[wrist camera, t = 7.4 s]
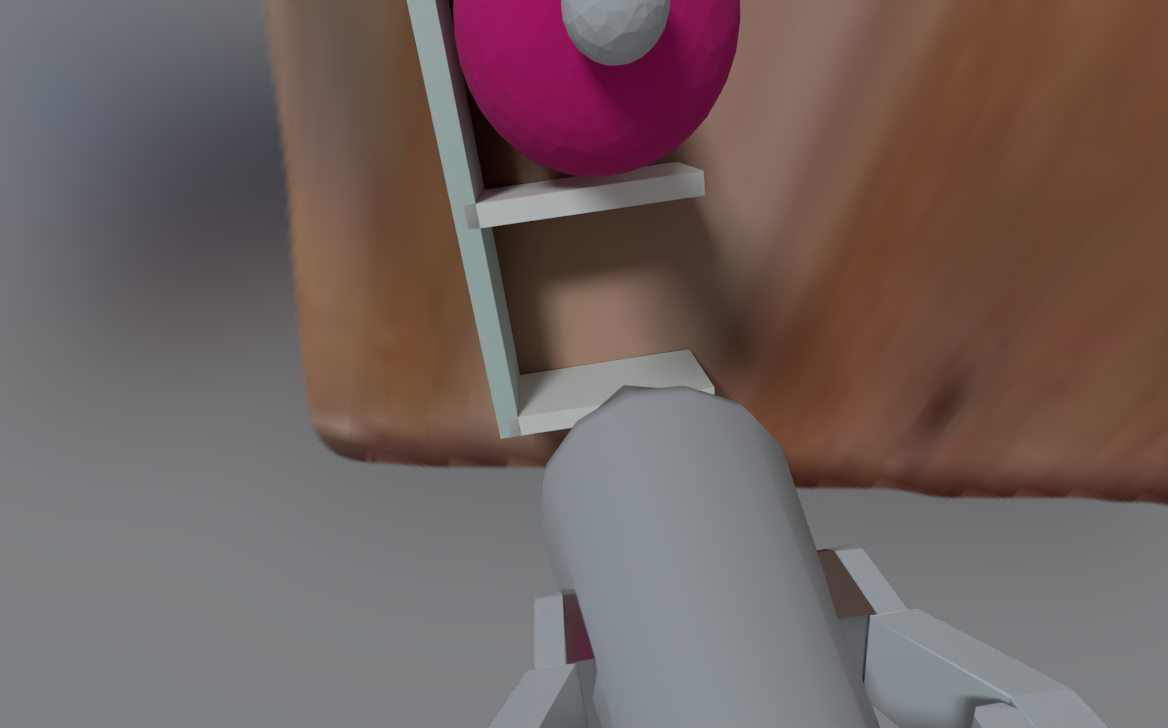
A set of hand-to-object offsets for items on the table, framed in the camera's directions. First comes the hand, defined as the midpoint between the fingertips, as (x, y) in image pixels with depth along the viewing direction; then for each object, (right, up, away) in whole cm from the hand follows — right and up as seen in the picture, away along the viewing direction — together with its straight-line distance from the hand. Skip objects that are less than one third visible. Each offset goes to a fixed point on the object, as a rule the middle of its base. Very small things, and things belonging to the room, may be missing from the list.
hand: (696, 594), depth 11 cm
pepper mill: (-3, +18, +16) cm, 24 cm away
